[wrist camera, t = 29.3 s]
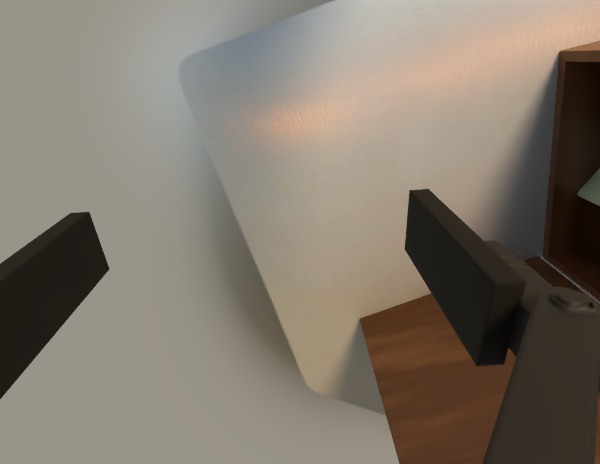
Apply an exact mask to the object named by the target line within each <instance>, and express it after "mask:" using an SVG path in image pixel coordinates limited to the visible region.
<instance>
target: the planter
mask: <svg viewBox="0 0 600 464" xmlns="http://www.w3.org/2000/svg"><path fill="white" fill-rule="evenodd" d="M577 195H578V196H579V197H581V198H583V199H586V200H588V201H590V202H592V203H594V204H596V205H598V206H600V168H599V169H598V170H597V172H596V173H595V174H594V175H593V176H592V177H591V178H590V179H589V180H588V181H587V183H586V184H585V185H584V186H583V187H582V188H581V189H580V190H579V192H578V194H577Z"/></svg>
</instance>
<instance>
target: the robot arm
mask: <svg viewBox="0 0 600 464" xmlns="http://www.w3.org/2000/svg"><path fill="white" fill-rule="evenodd" d="M405 250H406V252H407V254H408V255H409V257H410V258H411V260H412V262H413V263H414V265H415V267H416V268H417V270H418V272H419V273H420V275H421V276H422V278H423V280H424V281H425V283H426V285H427V286H428V288H429V290H430V291H431V293H432V295H433V296H434V298H435V299H436V301H437V303H438V304H439V306H440V308H441V309H442V311H443V313H444V314H445V316H446V317H447V319H448V321H449V322H450V324H451V326H452V327H453V329H454V331H455V332H456V334H457V335H458V337H459V339H460V340H461V342H462V344H463V345H464V347H465V349H466V350H467V352H468V353H469V355H470V357H471V358H472V360H473V362H474V363H475V365H476V366H490V365H504V363H505V359H506V356H507V352H508V348H509V349H510V350H511V351H512V353H513V354H514V355H515V357H516V360H515V363H514V367H513V370H512V373H511V376H510V379H509V382H508V385H507V388H506V391H505V394H504V398H503V401H502V404H501V407H500V410H499V413H498V416H497V419H496V422H495V425H494V429H493V432H492V435H491V438H490V441H489V444H488V447H487V450H486V453H485V456H484V460H483V463H482V464H594V462H595V445H596V429H597V412H598V396H599V393H600V304H599V303H597V302H596V301H595V300H594V299H593V298H591V297H589V296H587V295H586V294H584V293H581V292H578V291H575V290H572V289H568V288H563V287H553V286H552V285H551V284H549V283H548V282H547V281H546V280H545V279H544V278H542V277H541V276H540V275H539V274H538V273H537V272H536V271H534V270H533V269H532V268H531V267H530V266H529V265H526V263H525V262H524V261H523V260H522V259H521V258H518V256H517V255H516V254H515V253H514V252H512V251H511V250H510V249H509V248H508V247H506V246H503V245H501V244H499V243H497V242H495V241H483V240H482V239H481V238H480V237H479V236H478V235H477V234H476V233H475V232H474V231H472V230H471V229H470V228H469V227H468V226H467V225H466V224H465V223H464V222H463V221H462V220H461V219H460V218H459V217H458V216H456V215H455V214H454V213H453V212H452V211H451V210H450V209H449V208H448V207H447V206H446V205H445V204H444V203H443V202H442V201H440V200H439V199H438V198H437V197H436V196H435V195H434V194H433V193H432V192H431V191H430V190H429V189H423V190H410V193H409V205H408V217H407V229H406V241H405ZM108 270H109V267H108V264H107V261H106V258H105V255H104V252H103V250H102V247H101V244H100V241H99V238H98V235H97V233H96V230H95V227H94V224H93V222H92V219H91V216H90V213H89V212H81V213H70V214H69V215H67V216H66V217H65V218H63V219H62V220H60V221H59V222H58V223H56V224H55V225H53V226H52V227H51V228H50V229H48V230H47V231H45V232H44V233H42V234H41V235H40V236H38V237H37V238H35V239H34V240H33V241H31V242H30V243H28V244H27V245H26V246H24V247H23V248H21V249H20V250H19V251H17V252H16V253H15V254H13V255H12V256H10V257H9V258H8V259H6V260H5V261H3V262H2V263H1V264H0V399H1V398H2V396H3V395H4V394H5V393H6V392H7V390H8V389H9V388H10V387H11V386H12V384H13V383H14V382H15V381H16V380H17V379H18V377H19V376H20V375H21V374H22V373H23V372H24V370H25V369H26V368H27V367H28V365H29V364H30V363H31V362H32V361H33V360H34V358H35V357H36V356H37V355H38V354H39V352H40V351H41V350H42V349H43V348H44V346H45V345H46V344H47V343H48V342H49V341H50V339H51V338H52V337H53V336H54V335H55V333H56V332H57V331H58V330H59V329H60V327H61V326H62V325H63V324H64V323H65V321H66V320H67V319H68V318H69V317H70V315H71V314H72V313H73V312H74V311H75V310H76V308H77V307H78V306H79V305H80V303H81V302H82V301H83V300H84V299H85V297H86V296H87V295H88V294H89V293H90V292H91V290H92V289H93V288H94V287H95V286H96V284H97V283H98V282H99V281H100V280H101V279H102V277H103V276H104V275H105V274H106V273H107V271H108Z"/></svg>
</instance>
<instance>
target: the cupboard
mask: <svg viewBox="0 0 600 464" xmlns="http://www.w3.org/2000/svg"><path fill="white" fill-rule="evenodd" d="M599 168H600V41H598V42H594V43H590V44H586V45H582V46H578V47H574V48H570V49H566V50H562V51H560V56H559V68H558V81H557V93H556V105H555V117H554V129H553V141H552V153H551V165H550V177H549V189H548V201H547V213H546V225H545V237H544V250H543V258H545V259H546V260H547V261H549V262H550V263H551V264H553V265H554V266H555V267H556V268H558V269H559V270H560V271H562V272H563V273H564V274H565V275H567V276H568V277H569V278H570V279H572V280H573V281H574V282H576V283H577V284H578V285H579V286H581V287H582V288H583V289H585V290H586V291H587V292H588V293H590V294H591V295H592V296H593V297H595V298H596V299H597V300H599V301H600V206H598V205H596V204H594V203H592V202H590V201H588V200H586V199H583V198H581V197H579V196H578V195H577V194H578V192H579V190H580V189H581V188H582V187H583V186H584V185H585V184H586V183H587V181H588V180H589V179H590V178H591V177H592V176H593V175H594V174H595V173H596V172H597V170H598V169H599Z"/></svg>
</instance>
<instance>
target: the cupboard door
mask: <svg viewBox="0 0 600 464" xmlns="http://www.w3.org/2000/svg"><path fill="white" fill-rule="evenodd" d="M524 262H525V263H526V265H529V266H530V267H531V268H532V269H533V270H534V271H536V272H537V273H538V274H539V275H540V276H541V277H542V278H544V279H545V280H546V281H547V282H548V283H549V284H551V285H552V286H553V287H563V288H568V289H572V290H575V291H578V292H581V293H584V292H582V291H581V290H580V289H579V288H577V287H576V286H575V285H574V284H572V283H571V282H570V281H569V280H567V279H566V278H565V277H564V276H562V275H561V274H560V273H559V272H557V271H556V270H555V269H554V268H552V267H551V266H550V265H549V264H547V263H546V262H545V261H543V260H542V259H541V258H540V257H535V258H532V259H529V260H526V261H524ZM584 294H585V293H584ZM587 296H588V295H587ZM360 322H361V326H362V329H363V333H364V336H365V340H366V344H367V347H368V351H369V355H370V358H371V362H372V365H373V369H374V373H375V376H376V380H377V384H378V387H379V391H380V395H381V398H382V402H383V405H384V409H385V413H386V416H387V420H388V423H389V427H390V431H391V434H392V438H393V442H394V445H395V449H396V453H397V456H398V460H399V463H400V464H482V463H483V460H484V456H485V453H486V450H487V447H488V444H489V441H490V438H491V435H492V432H493V429H494V425H495V422H496V419H497V416H498V413H499V410H500V407H501V404H502V401H503V398H504V394H505V391H506V388H507V385H508V382H509V379H510V376H511V373H512V370H513V367H514V363H515V360H516V357H515V355H514V354H513V353H512V351H511V350H510V349H509V348H508V352H507V356H506V359H505V363H504V365H490V366H476V365H475V363H474V362H473V360H472V358H471V357H470V355H469V353H468V352H467V350H466V349H465V347H464V345H463V344H462V342H461V340H460V339H459V337H458V335H457V334H456V332H455V331H454V329H453V327H452V326H451V324H450V322H449V321H448V319H447V317H446V316H445V314H444V313H443V311H442V309H441V308H440V306H439V304H438V303H437V301H436V299H435V298H434V296H433V295H432V294H430V295H427V296H424V297H421V298H418V299H415V300H413V301H410V302H407V303H404V304H401V305H398V306H396V307H393V308H390V309H387V310H384V311H381V312H378V313H376V314H373V315H370V316H367V317H364V318H361V319H360ZM594 464H600V393H599V396H598V412H597V429H596V445H595V462H594Z"/></svg>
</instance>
